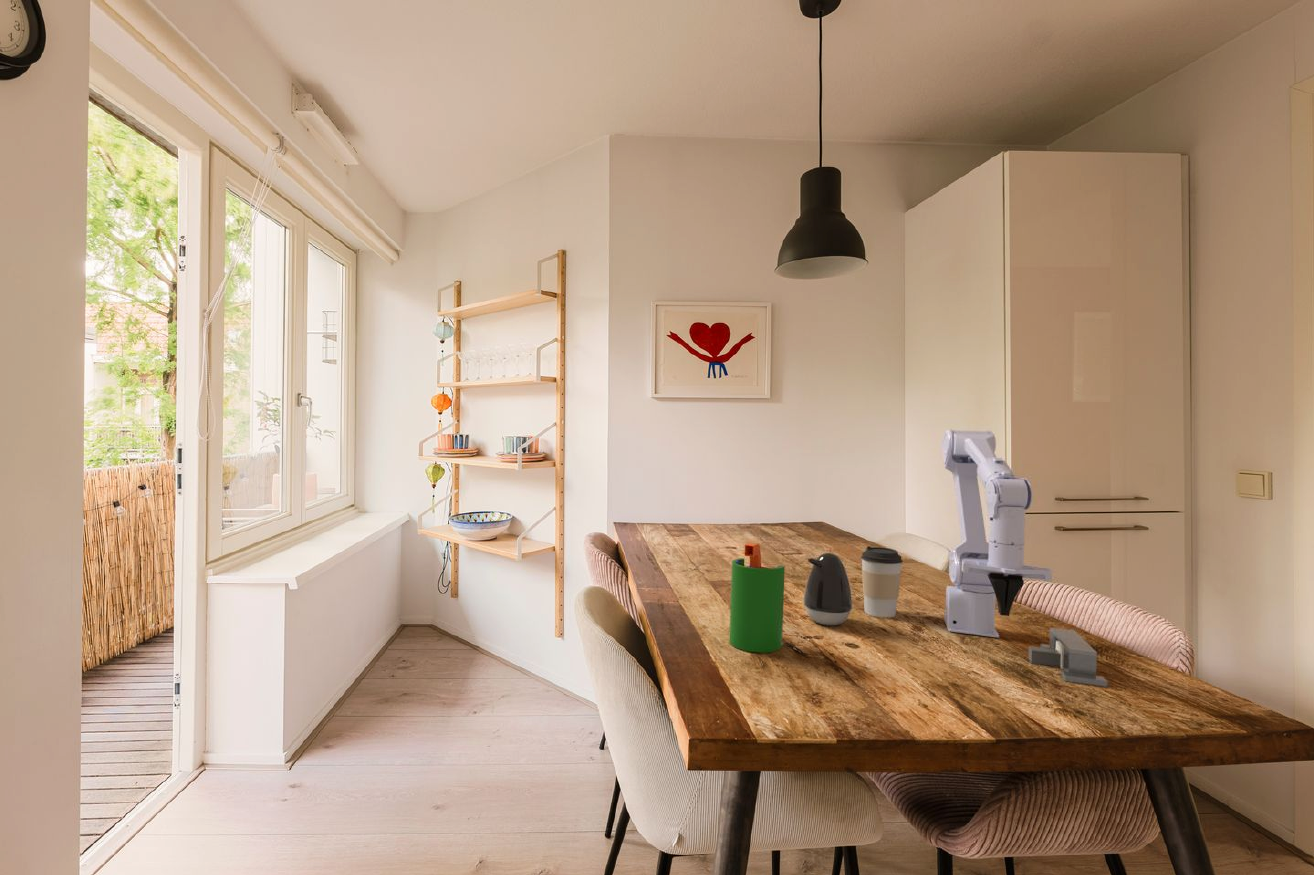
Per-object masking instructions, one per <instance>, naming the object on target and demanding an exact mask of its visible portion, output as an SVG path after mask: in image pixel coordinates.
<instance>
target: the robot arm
mask: <svg viewBox="0 0 1314 875" xmlns="http://www.w3.org/2000/svg"><path fill="white" fill-rule="evenodd" d="M996 445H997V440H996V436H995V433H993V432H992V430H963V429H962V430H956V429H953V430H952V429H947V430H946V431H945V432H944V433H943V437H942V442H941V452H942V460H943V461H942V462H943V464H944V469H946V470H948V471H949V472H950V473H952V479H953V483H954V492H955V497H956V505H957V506H956V508H957V515H958V524H959V531H960V538H961V543H959V544H958V545H956V546H954V547H953V548H952V549H951V551H950V553H949V554H948V555H949V556H948V557H949V563H948V574H949V579H950V581H951V583H952V584H953V585H947V586H946V590H945V609H944V610H945V611H944V622H945V625H946V629H947V630H948V632H953V633H958V634H959V633H960V634H967V635H976V636H982V637H983V636H984V637H990V638H1000V635H999V633H998V631H997V629H996V628H995V627H996V626H995V624H996V622H995V619H996V618H995V617H996V602H997V607H998V608H997V609H998V613H999V615H1001V616H1006V617H1009V616H1010V612H1011V608H1012V606H1013V603H1014V601H1015V599H1016V597H1017V595H1018V594H1019V592H1020V590H1021V589H1022V588H1023V586H1024V585H1025V582H1024V581H1025V580H1024V579H1033V580H1044V581H1045V582H1046V581H1047V582H1052V580H1053V579H1052V578H1053V571H1052V570H1051V569H1050V568H1047V567H1046V568H1045V567H1038V566H1032V565H1024V564H1025V563H1024V560H1025V559H1024V557H1025V533H1026V510H1029V508H1030V507H1031V505H1032V502H1033V488H1032V485H1031V482H1029V479H1027V478H1024V477H1023V478H1022V477H1017V476H1016V474H1015V473H1014V472H1013V470H1012V469H1011V467H1010V466H1009V464H1008V463H1007V461H1005V460H1004V459H1003V458H1002V457H997V455H996V454H995V452H996V449H997V448H996ZM978 478H979V479H980V482H981V484H982V485H983V487H984V489H985V492H984V494H985V496H984V497H985V503H986V513H987V516H988V517H989V527H988V528H989V531H988V532H989V534H988V541H987V536H986V528H985V522H984V515H983V507H982V502H981V493H980V488H979V487H980V486H979V479H978Z"/></svg>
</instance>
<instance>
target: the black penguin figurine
mask: <svg viewBox="0 0 1314 875" xmlns="http://www.w3.org/2000/svg"><path fill="white" fill-rule="evenodd" d="M807 562H808V563H809V564H812V567H811V569H810V572H809V573H808V574H809V575H808V578H807V581H806V584H805V590H804V596H803V605H804V606H805V610H806V613H807V615H808V616H809V618H810V619H811V620H813V621H814V622H815V623H817V624H819V625H823V626H829V627H830V626H831V627H833V626H838V625H841V624H843V623H844V622H846V621H847V620H848V618H849V616H850V614H851V611H852V610H853V599H852V598H853V597H852V596H853V595H852V588H851V584H850V580H849V577H848V576H849V575H848V573H847V570H846V568H845V565H844V563H843V561H842V560H841V558H840V557H839V556H838V555H837V554H835V553H832V552H825V553H822V554H820V555H818V557H817V558H816V559H815V558H813V557H808V558H807Z"/></svg>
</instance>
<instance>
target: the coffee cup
mask: <svg viewBox="0 0 1314 875" xmlns="http://www.w3.org/2000/svg"><path fill="white" fill-rule="evenodd" d="M860 558H861V565H862V567H861V578H862V579H861V580H862V593H863V602H864V603H863V606H864V609H863V610H864V613H865V614H867V615H869V616H872V617H876V618H877V617H878V618H883V619H885V618H886V619H888V618H894V617H895V616H896V615H897V614H896V613H897V605H898V598H899V595H900V594H899V593H900V586H901V578H902V564H903V559H902V556H901V555H900V554H899V552H898V551H897V550H896V549H893V548H888V547H887V548H886V547H878V546H877V547H875V546H874V547H872V546H869V545H868V546H867V547H866V549H865V551H863V552H862V554H861V557H860Z"/></svg>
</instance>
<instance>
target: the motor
mask: <svg viewBox="0 0 1314 875" xmlns="http://www.w3.org/2000/svg"><path fill="white" fill-rule="evenodd" d="M744 556H745V557H749V565H747V566H745V558H743V557H741V558H736V559H734V560H732V561H731V582H730V584H731V585H730V587H731V588H730V612H729V613H730V614H729V615H730V616H729V644H730V645H731V646H732V647H734V648H736V649H739V650H742V651H745V652H752V653H760V654H761V653H762V654H763V653H764V654H765V653H772V652H773V653H774V652H777V651H779V650H781V649H782V648H783V630H784V629H783V627H784V625H783V624H784V599H785V598H784V595H785V593H784V592H785V567H786V566H785V565H778V566H777V567H772V568H771V567H767V566H762V556H761V547H760V544H759V543H755V542H747V543H745V544H744Z"/></svg>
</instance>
